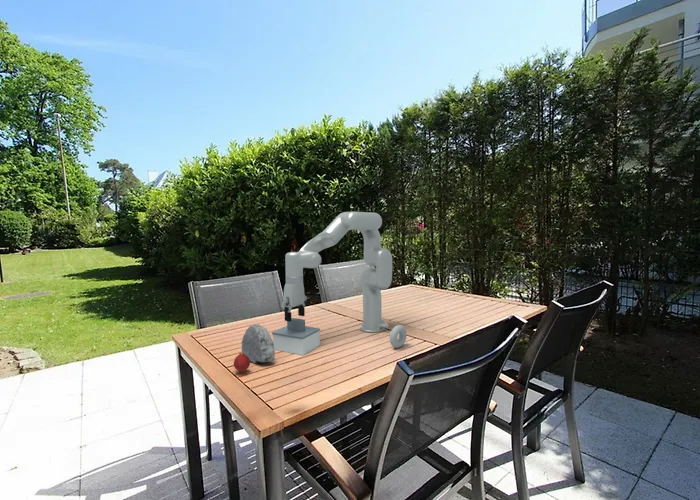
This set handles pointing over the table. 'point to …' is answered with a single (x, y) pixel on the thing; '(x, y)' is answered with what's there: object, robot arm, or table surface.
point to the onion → (241, 362)
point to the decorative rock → (258, 344)
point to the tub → (296, 343)
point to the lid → (296, 329)
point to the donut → (394, 335)
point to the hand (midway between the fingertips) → (294, 318)
